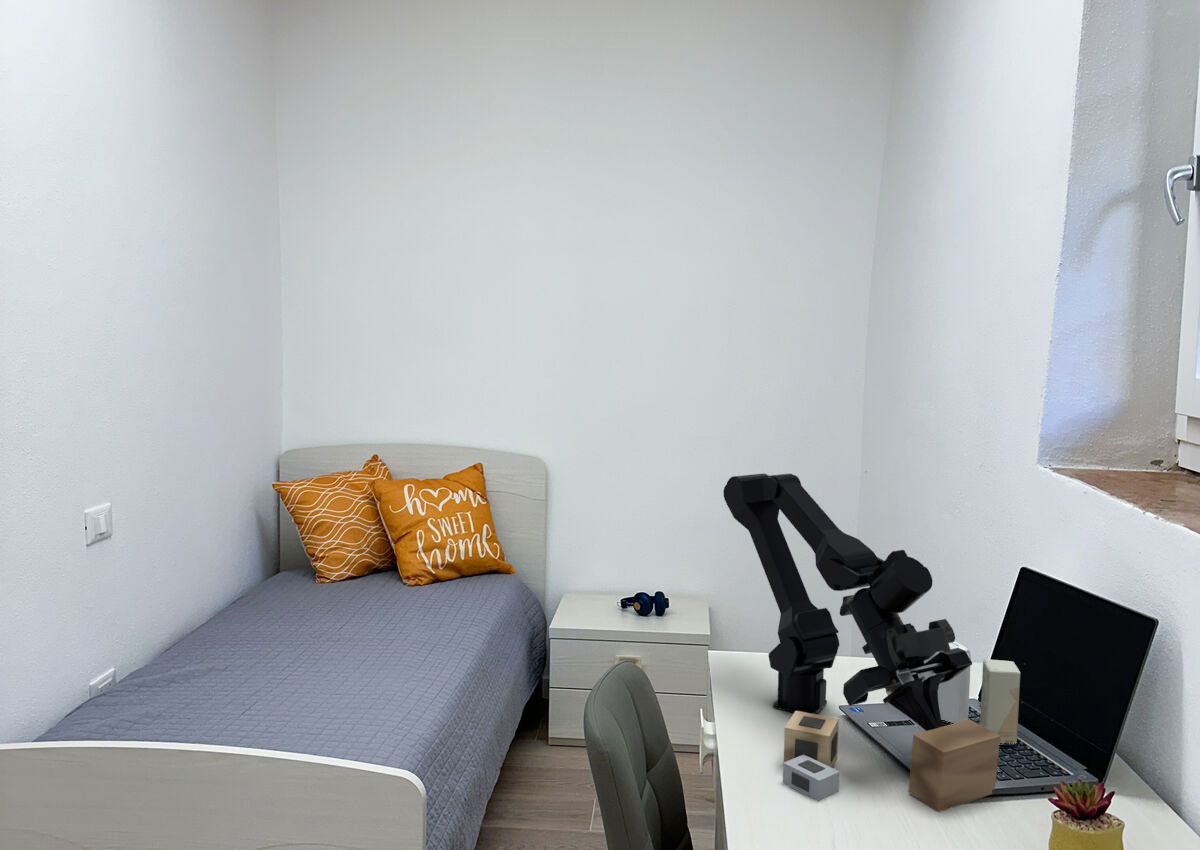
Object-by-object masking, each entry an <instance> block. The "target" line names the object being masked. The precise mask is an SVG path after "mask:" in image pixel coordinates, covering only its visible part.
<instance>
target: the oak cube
mask: <svg viewBox="0 0 1200 850" xmlns="http://www.w3.org/2000/svg"><path fill="white" fill-rule="evenodd" d="M839 722H840V718H838V717H833V716H827V715H821V714H817V713H815V714H811V713H806V712H800V711H795V713H793V714H792V715H791V717H790V719H789V720H788V722H787V723H786V725H785V726H784V742H783V743H784V744H783V763H784V762H786V761H789V760H791V759H794V758H796V757H799V756H801V755H806V756H808V757H810V758H812V759H814V760H816V761H819V762H821V763H823V764H825V765H827V766H829V767H831V768H833V769H834V767H835V766H836V763H837V762H838V761H837V760H838V752H839V751H838V749H839V748H838V747H839V729H840V728H839V724H840V723H839Z"/></svg>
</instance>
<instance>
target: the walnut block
mask: <svg viewBox="0 0 1200 850" xmlns="http://www.w3.org/2000/svg"><path fill="white" fill-rule="evenodd" d="M999 745H1000V735H998V734H996V733H994V732H992V731H990V730H988V729H987V728H985V727H983V726H981V725H980V723H978V722H976V721H974V720H972V719H970V718H968V720H965V721H961V722H958V723H954V724H952V723H949V724H947V725H944V726H943V725H942V727H939V728H936V729H932V730H928V731H926V730H924V731H922V732H918V733H914V734H913V737H912V749H911V759H910V769H909V770H910V772H909V783H908V793H909V794H910V795H912V796H913V797H915V798H916V799H918V800H920V802H922V803H924V804H925V805H926V806H928V807H930V808H931V809H933V810H935V811H936V812H937V813H939V812H943V811H945V810H946V811H947V810H948V809H951V808H955V807H957V806H960V805H961V806H962V805H963V804H966V803H969V802H972V801H975V800H980V799H982V798H984V797H988V796H992V795H994V794H993V793H992V790H994V789H996V781H997V772H998V761H999V753H1000V746H999Z"/></svg>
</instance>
